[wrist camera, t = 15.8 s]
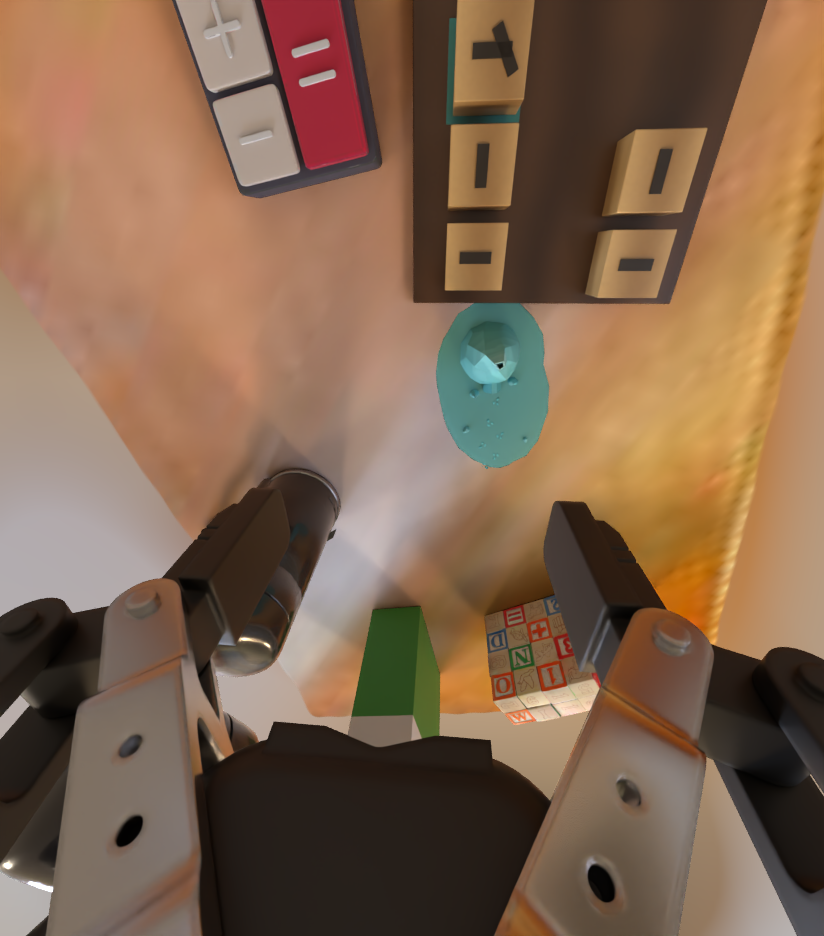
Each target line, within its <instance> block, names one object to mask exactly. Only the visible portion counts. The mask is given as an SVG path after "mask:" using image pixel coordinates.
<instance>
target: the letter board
mask: <svg viewBox="0 0 824 936" xmlns="http://www.w3.org/2000/svg"><path fill="white" fill-rule="evenodd" d="M766 3H767V0H535V2H534V11H533V20H532V29H531V39H530V48H529V57H528V66H527V75H526V84H525V93H524V99H523V101H522V103H521V105H520V107H519V109H518V111H517V113H516V114H514V115H482V116H453V95H454V69H455V43H456V19H457V0H413V259H414V303H587V304H669V303H670V301H671V298H672V295H673V292H674V289H675V285H676V282H677V279H678V276H679V273H680V270H681V267H682V264H683V261H684V258H685V254H686V251H687V248H688V245H689V242H690V239H691V236H692V233H693V230H694V227H695V223H696V220H697V217H698V214H699V211H700V208H701V205H702V202H703V199H704V195H705V192H706V189H707V186H708V183H709V180H710V177H711V174H712V171H713V168H714V164H715V161H716V158H717V155H718V152H719V149H720V146H721V143H722V140H723V136H724V133H725V130H726V127H727V124H728V121H729V118H730V115H731V112H732V109H733V105H734V102H735V99H736V96H737V93H738V90H739V87H740V84H741V81H742V77H743V74H744V71H745V68H746V65H747V62H748V59H749V56H750V53H751V50H752V46H753V43H754V40H755V37H756V34H757V31H758V28H759V25H760V22H761V18H762V15H763V12H764V9H765V6H766Z"/></svg>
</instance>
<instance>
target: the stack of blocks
mask: <svg viewBox="0 0 824 936" xmlns="http://www.w3.org/2000/svg"><path fill="white" fill-rule="evenodd" d="M485 628H486V635H487V647H488V663H489V673H490V677H491V683H492V694H493V701H494V703H495V704H496V705H497V706H498V707H499V709H500V710H501V711H502V712H503V713H504V714H505V715H506V717H507V718H508V719H509V720H510V721H511V722H512V723H513V724H514V725H517V724H522V723H528V722H533V721H536V720H537V721H538V722H541V721H545V720H551V719H556V718H560V717H561V716H567V715H571V714H576V713H581V712H585V711H586V710H587V711H589V710H590V709H591V707H592V704H593V702H594V700H595V698H596V695H597V693H598V691H599V689H600V686H601V683H600V681H599V678H598V675H597V673H588V672H580V671H579V668H578V665H577V662H576V659H575V656H574V653H573V650H572V646H571V643H570V640H569V637H568V634H567V631H566V628H565V625H564V621H563V618H562V615H561V612H560V609H559V606H558V603H557V600H556V597H555V595H553V596H550V597H547V598H544V599H540V600H537V601H534V602H531V603H527V604H524V605H520V606H516V607H513V608H510V609H506V610H504V611H499V612H496V613H493V614H490V615H487V616H485Z"/></svg>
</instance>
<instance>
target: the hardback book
mask: <svg viewBox="0 0 824 936" xmlns="http://www.w3.org/2000/svg"><path fill="white" fill-rule="evenodd" d="M439 717H440V673H439V670H438V666H437V663H436V659H435V656H434V652H433V649H432V645H431V641H430V638H429V634H428V631H427V627H426V624H425V620H424V617H423V613H422V610H421V606H417V607H404V608H390V609H377V610H373V612H372V617H371V622H370V627H369V632H368V637H367V642H366V647H365V652H364V657H363V661H362V666H361V671H360V676H359V681H358V686H357V691H356V696H355V701H354V706H353V711H352V716H351V721H350V726H349V731H348V736H350V737H353V738H355V739H358V740H360V741H362V742H365V743H367V744H369V745H372V746H375V747H385V746H389V745H394V744H398V743H403V742H408V741H412V740H417V739H422V738H426V737H431V736H439V720H440V718H439Z"/></svg>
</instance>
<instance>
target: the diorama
mask: <svg viewBox="0 0 824 936" xmlns="http://www.w3.org/2000/svg"><path fill="white" fill-rule="evenodd" d="M543 362H544V343H543V334H542V332H541V330H540V328H539V327H538V325H537V323H536V321H535V319H534V318H533V316H532V315H531V314H530V313H529V312H528V311H527V310H526V309H525V308H524V307H523V306H522V305H521V304H520V303H474V304H472V305H471V306H470V307H468V308H467V309H465V310H464V311H462V312H460V313H459V314H458V315H457V317H456V319H455V320H454V322H453V324H452V326H451V327H450V329H449V331H448V333H447V334H446V336H445V337H444V339H443V342H442V345H441V347H440V350H439V353H438V361H437V370H436V378H437V388H438V393H439V398H440V403H441V407H442V412H443V416H444V420H445V423H446V426H447V428H448V430H449V432H450V434H451V435H452V437H453V439H454V441H455V443H456V444H457V446H458V448H459V449H461V450H462V451H463V452H465V453H466V454H467V455H468V456H469V457H470V458H471V459H473V460H475V461H477V462H480V463H482V464H483V465H486V466H489V467H495V468H501V467H504V466H507V465H509V464H511V463H512V462H513V461H516V460H518V459H520V458H522V457H524V456H526V455H527V454H528V453H529V451H530V450H531V449H532V447H533V446H534V445H535V443H536V442H537V441H538V439H539V436H540V433H541V430H542V427H543V424H544V421H545V418H546V415H547V412H548V396H549V384H548V380H547V377H546V373H545V369H544V365H543ZM486 466H485V468H486V469H488V467H486Z"/></svg>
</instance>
